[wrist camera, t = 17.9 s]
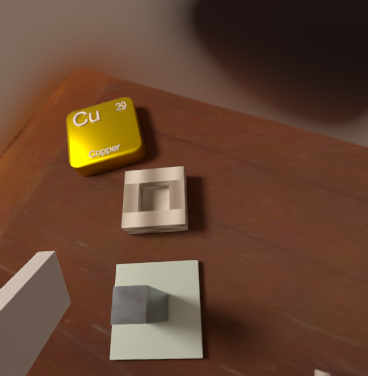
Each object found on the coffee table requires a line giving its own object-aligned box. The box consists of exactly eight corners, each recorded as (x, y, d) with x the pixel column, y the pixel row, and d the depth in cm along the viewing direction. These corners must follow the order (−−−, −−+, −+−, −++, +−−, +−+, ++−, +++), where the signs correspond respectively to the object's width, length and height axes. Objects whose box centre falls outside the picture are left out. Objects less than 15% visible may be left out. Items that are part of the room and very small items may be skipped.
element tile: (79, 180, 57) (67, 169, 53) (74, 125, 63) (63, 111, 59) (148, 160, 57) (142, 147, 53) (136, 107, 63) (130, 92, 59)
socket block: (186, 176, 54) (183, 166, 50) (188, 230, 49) (185, 223, 45) (131, 180, 55) (125, 171, 51) (128, 234, 50) (121, 228, 46)
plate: (198, 261, 46) (197, 260, 46) (202, 357, 40) (202, 358, 40) (118, 265, 48) (116, 264, 47) (112, 358, 42) (109, 359, 41)
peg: (168, 293, 44) (147, 284, 31) (168, 321, 42) (146, 323, 30) (144, 294, 44) (113, 286, 32) (143, 321, 43) (110, 324, 30)
